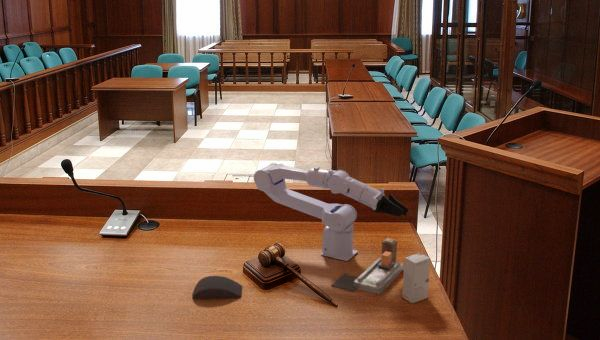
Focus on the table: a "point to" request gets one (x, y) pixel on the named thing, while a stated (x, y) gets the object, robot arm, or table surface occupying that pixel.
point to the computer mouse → (217, 288)
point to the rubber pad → (346, 282)
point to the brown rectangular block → (390, 247)
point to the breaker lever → (386, 260)
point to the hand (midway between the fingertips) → (404, 213)
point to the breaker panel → (377, 277)
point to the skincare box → (416, 277)
